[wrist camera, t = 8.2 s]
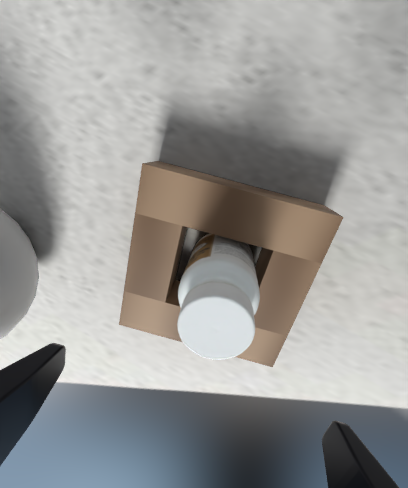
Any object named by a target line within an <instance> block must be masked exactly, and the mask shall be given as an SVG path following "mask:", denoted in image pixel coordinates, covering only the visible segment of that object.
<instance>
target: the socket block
mask: <svg viewBox="0 0 408 488" xmlns="http://www.w3.org/2000/svg"><path fill="white" fill-rule="evenodd" d="M342 219H343V217H342V216H340V215H339V214H337V213H336V212H334V211H332V210H331V209H329V208H328V207H326V206H324V205H321V204H317V203H314V202H310V201H306V200H302V199H299V198H295V197H291V196H287V195H284V194H280V193H276V192H272V191H269V190H265V189H261V188H257V187H254V186H250V185H246V184H242V183H239V182H235V181H231V180H227V179H224V178H220V177H216V176H212V175H209V174H205V173H201V172H198V171H194V170H190V169H186V168H183V167H179V166H175V165H171V164H168V163H164V162H160V161H155V162H149V163H143V164H142V170H141V177H140V184H139V191H138V198H137V205H136V212H135V218H134V225H133V232H132V239H131V246H130V253H129V260H128V267H127V274H126V280H125V287H124V294H123V301H122V308H121V315H120V322H119V325H123V326H126V327H130V328H133V329H137V330H141V331H144V332H148V333H151V334H155V335H159V336H162V337H166V338H169V339H173V340H177V341H180V342H182V340H181V338H180V336H179V332H178V327H177V323H178V317H179V313H180V310H181V307H180V304H179V300H178V289H179V284H180V281H177V280H175V279H176V274H177V270H178V266H179V261H180V257H181V253H182V248H183V244H184V240H185V235H186V231H187V227H188V228H192V229H196V230H199V231H203V232H207V233H210V234H214V235H218V236H222V237H225V238H229V239H233V240H236V241H240V242H244V243H247V244H251V245H255V246H258V247H262V250H261V252H260V255H259V258H258V261H257V263H256V266H255V270H256V276H257V280H258V285H259V292H260V301H259V306H258V309H257V311H256V313H255V315H254V320H255V335H254V338H253V341H252V343H251V344H250V346H249V347H248V348H247V349H246V350H245V351H244V352H243V353H241V354H240V355H238V356H236V357H238V358H241V359H245V360H249V361H252V362H256V363H259V364H263V365H267V366H270V367H273V365H274V363H275V361H276V359H277V357H278V355H279V352H280V350H281V348H282V346H283V344H284V342H285V340H286V338H287V335H288V333H289V331H290V329H291V327H292V325H293V323H294V321H295V319H296V316H297V314H298V312H299V310H300V308H301V306H302V304H303V302H304V299H305V297H306V295H307V293H308V291H309V289H310V287H311V285H312V283H313V280H314V278H315V276H316V274H317V272H318V270H319V268H320V266H321V264H322V261H323V259H324V257H325V255H326V253H327V251H328V249H329V247H330V244H331V242H332V240H333V238H334V236H335V234H336V232H337V230H338V228H339V225H340V223H341V221H342Z"/></svg>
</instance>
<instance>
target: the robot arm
mask: <svg viewBox="0 0 408 488" xmlns="http://www.w3.org/2000/svg"><path fill="white" fill-rule="evenodd" d="M65 350H66V349H65V346H63V345H60V344H56V343H52V344H49V345H47V346H45V347H43V348H41V349H40V350H38V351H36V352H34V353H32V354H30V355H28V356H26V357H24V358H22V359H21V360H19V361H17V362H15V363H13V364H11V365H9V366H7V367H5V368H4V369H2V370H0V466H1V464H2V463H3V461H4V460H5V459H6V457H7V456H8V455H9V453H10V451H11V450H12V449H13V448H14V446H15V445H16V443H17V442H18V441H19V439H20V438H21V436H22V435H23V434H24V432H25V431H26V430H27V428H28V427H29V425H30V424H31V422H32V421H33V419H34V418H35V416H36V414H37V413H38V411H39V409H40V408H41V406H42V404H43V403H44V401H45V399H46V398H47V396H48V394H49V393H50V391H51V389H52V388H53V386H54V384H55V383H56V381H57V379H58V378H59V376H60V374H61V372H62V371H63V368H64V365H65ZM322 445H323V452H324V460H325V467H326V475H327V482H328V488H399V487H398V486H397V484H396V483H395V482H394V481H393V479H392V478H391V477H390V476H389V475H388V474H387V472H386V471H385V470H384V468H383V467H382V466H381V465H380V463H379V462H378V461H377V460H376V459H375V457H374V456H373V455H372V454H371V452H370V451H369V450H368V449H367V448H366V446H365V445H364V444H363V442H362V441H361V440H360V439H359V438H358V436H357V435H356V434H355V433H354V432H353V430H352V429H351V428H350V427H349V426H348V425H347V424H345V423H342V422H338V421H333V422H332V423H331V425H330V426H329V428H328V429H327V431H326V432H325V434H324V435H323V438H322Z"/></svg>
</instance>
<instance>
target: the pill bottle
mask: <svg viewBox="0 0 408 488" xmlns="http://www.w3.org/2000/svg"><path fill="white" fill-rule="evenodd" d="M178 300H179V304H180V307H181V310H180V313H179V317H178V323H177V327H178V332H179V336H180V338H181V340H182V342H183V343H184V344H185V345H186V346H187V348H189V349H190V350H191V351H192V352H194V353H195V354H197V355H199V356H201V357H204V358H208V359H213V360H224V359H229V358H233V357H236V356H238V355H240V354H241V353H243V352H244V351H245V350H246V349H247V348H248V347H249V346H250V344H251V343H252V341H253V338H254V335H255V320H254V315H255V313H256V311H257V309H258V306H259V301H260V292H259V285H258V280H257V276H256V270H255V265H254V259H253V255H252V251H251V249H250V247H249V245H248V244H247V243H244V242H240V241H236V240H233V239H229V238H225V237H222V236H218V235H214V234H208V235H206V236H204V237H202V238H201V239H200V240H199V241H198V242H197V243H196V245H195V247H194V249H193V251H192V253H191V256H190V259H189V261H188V264H187V266H186V269H185V271H184V273H183V276H182V278H181V281H180V284H179V289H178Z"/></svg>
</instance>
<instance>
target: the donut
mask: <svg viewBox="0 0 408 488" xmlns="http://www.w3.org/2000/svg"><path fill="white" fill-rule="evenodd" d="M38 279H39V273H38V263H37V257H36V254H35V252H34V249H33V247H32V244H31V242H30V239H29V238H28V237H27V235H26V234H25V233H24V231H23V230H22V228H21V227H20V226H19V224H18V223H17V222H16V221H15V220H14V219H12V218H11V217H10V216H9V215H8V214H7V213H5V212H4V211H3V210H2V209H1V208H0V339H1V338H3V337H4V336H6V335H7V334H8V333H9V332H10V331H11V330H12V329H13V328H14V327H15V326H16V325H17V324H18V322H19V321H20V320H21V319H22V318H23V317H24V316H25V315H26V314H27V312H28V310H29V308H30V306H31V304H32V302H33V300H34V298H35V296H36V290H37V285H38Z"/></svg>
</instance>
